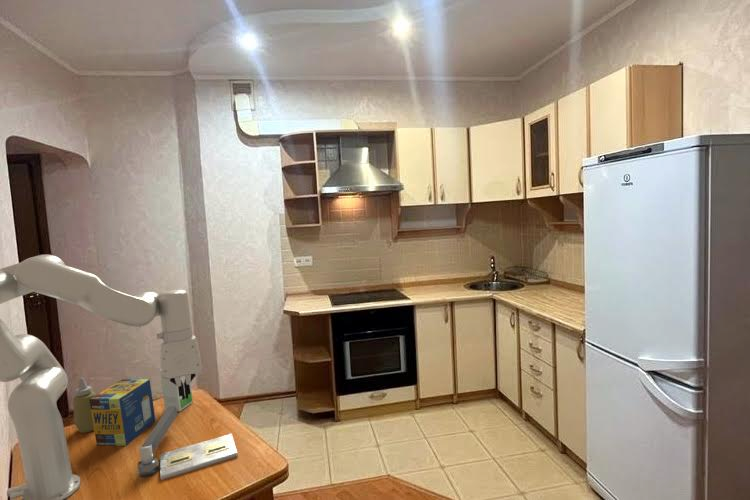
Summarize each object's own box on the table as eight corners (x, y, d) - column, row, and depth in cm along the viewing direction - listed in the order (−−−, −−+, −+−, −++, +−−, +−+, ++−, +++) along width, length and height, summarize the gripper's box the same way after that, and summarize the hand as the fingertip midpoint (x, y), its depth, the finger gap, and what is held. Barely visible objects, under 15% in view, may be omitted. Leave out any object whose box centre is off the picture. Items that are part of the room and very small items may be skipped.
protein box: (95, 446, 140) (88, 399, 138) (129, 421, 155) (122, 378, 153) (126, 446, 138) (118, 399, 136) (156, 421, 153) (150, 378, 151)
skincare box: (180, 412, 158) (174, 370, 156) (163, 411, 160) (157, 370, 158) (194, 401, 166) (188, 361, 164) (178, 401, 168) (172, 361, 166)
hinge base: (138, 479, 120) (137, 469, 120) (139, 470, 124) (137, 460, 124) (159, 473, 122) (157, 463, 122) (159, 464, 127) (157, 454, 126)
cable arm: (151, 463, 122) (149, 448, 121) (139, 465, 121) (137, 450, 121) (178, 418, 147) (176, 406, 146) (169, 419, 146) (167, 407, 146)
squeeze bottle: (78, 427, 153) (69, 377, 151) (105, 420, 157) (97, 371, 154) (73, 437, 146) (64, 385, 144) (102, 430, 149) (93, 379, 147)
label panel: (161, 480, 119) (160, 474, 119) (161, 457, 130) (160, 453, 130) (237, 456, 128) (237, 451, 127) (231, 437, 138) (231, 432, 138)
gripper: (147, 343, 117) (155, 409, 119) (207, 332, 124) (214, 395, 126) (148, 336, 124) (156, 399, 126) (205, 326, 130) (211, 386, 132)
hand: (185, 397), depth 126 cm, fingers closed
